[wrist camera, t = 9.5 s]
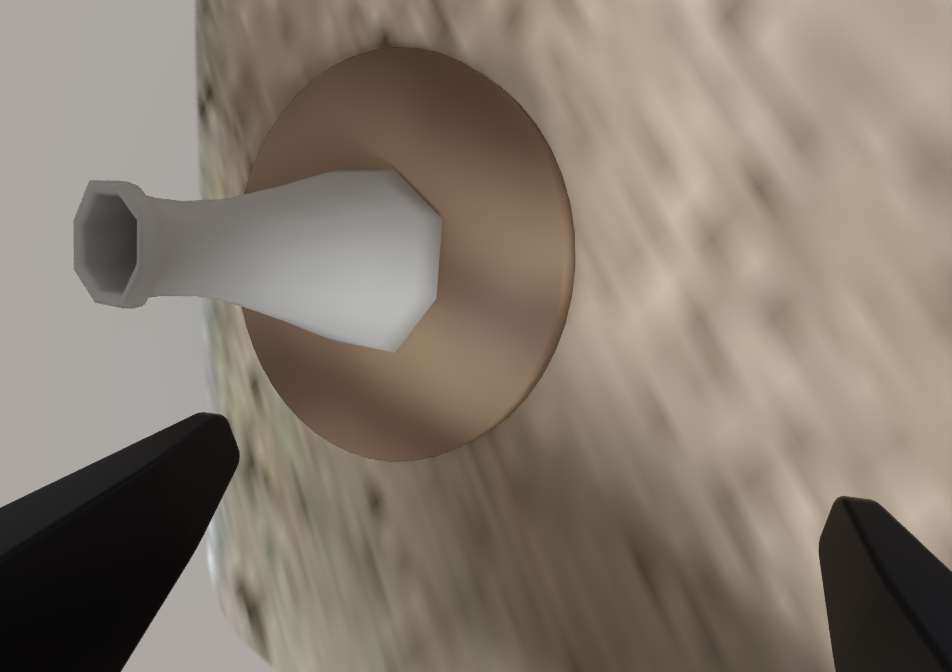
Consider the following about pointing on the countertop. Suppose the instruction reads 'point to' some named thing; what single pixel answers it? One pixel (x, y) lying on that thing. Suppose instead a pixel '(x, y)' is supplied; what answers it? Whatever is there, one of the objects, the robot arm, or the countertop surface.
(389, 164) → the walnut board
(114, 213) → the flask
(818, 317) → the countertop surface
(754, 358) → the countertop surface
